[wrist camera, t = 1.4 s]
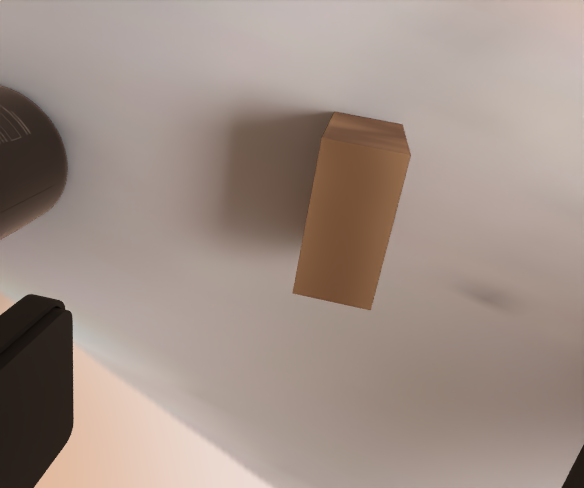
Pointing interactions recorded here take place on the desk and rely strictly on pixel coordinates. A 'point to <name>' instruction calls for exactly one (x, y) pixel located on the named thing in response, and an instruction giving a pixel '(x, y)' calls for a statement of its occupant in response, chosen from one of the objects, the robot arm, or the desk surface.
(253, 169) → the desk surface
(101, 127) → the desk surface
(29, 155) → the supplement bottle
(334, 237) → the block
